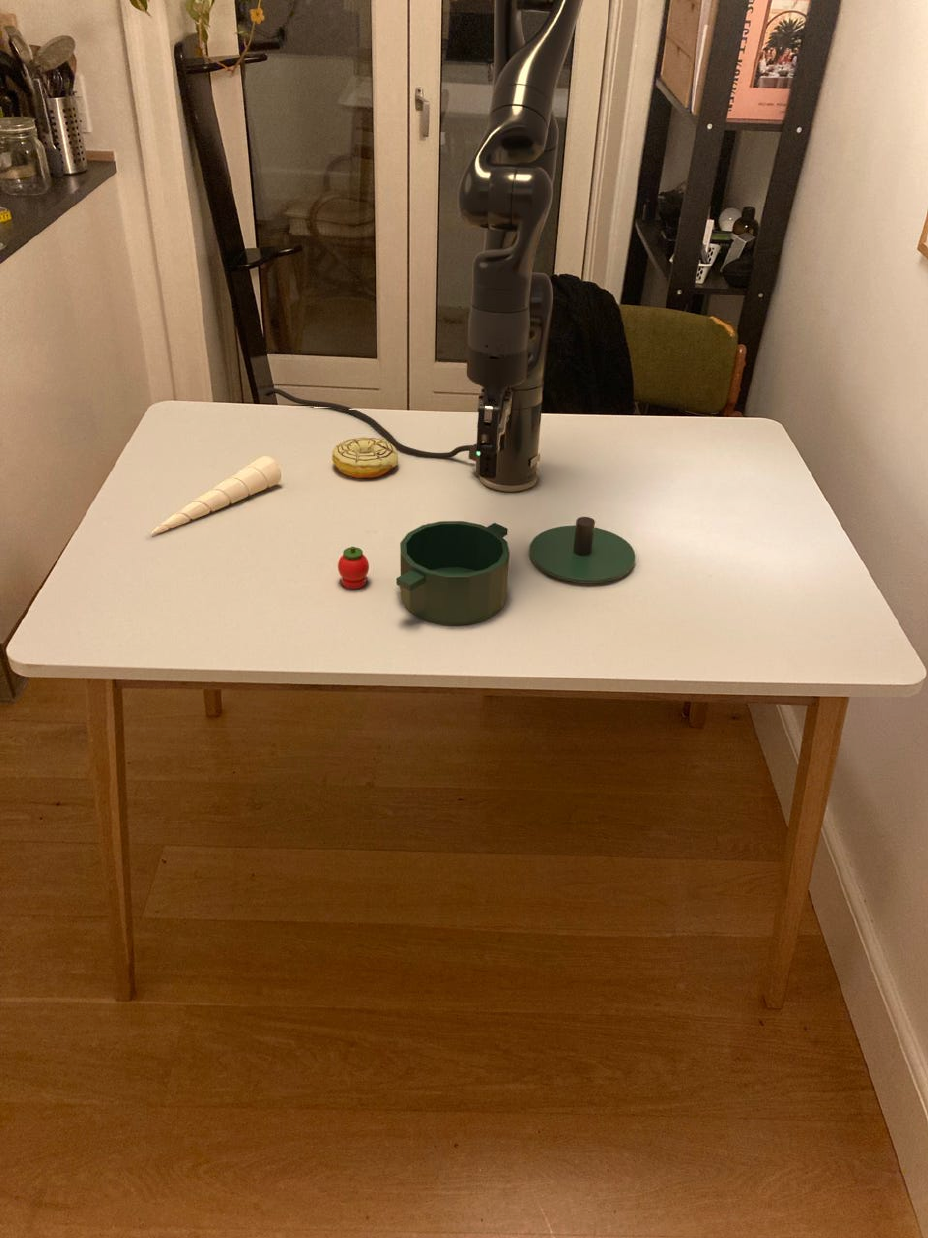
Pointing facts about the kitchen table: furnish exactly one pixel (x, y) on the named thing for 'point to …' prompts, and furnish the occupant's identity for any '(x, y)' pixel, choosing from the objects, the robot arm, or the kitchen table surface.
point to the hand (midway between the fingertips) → (492, 462)
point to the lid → (582, 553)
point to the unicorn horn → (228, 492)
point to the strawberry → (353, 568)
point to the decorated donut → (365, 457)
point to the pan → (454, 571)
